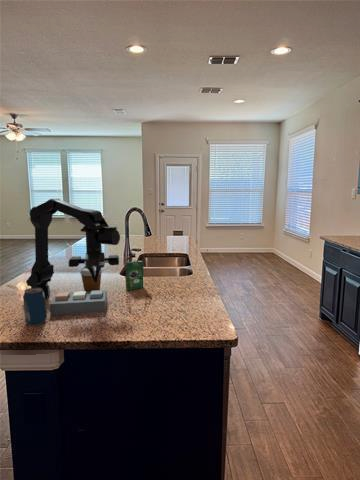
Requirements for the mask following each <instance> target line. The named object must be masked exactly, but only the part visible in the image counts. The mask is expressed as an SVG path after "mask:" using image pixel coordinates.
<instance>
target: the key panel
mask: <svg viewBox="0 0 360 480" xmlns="http://www.w3.org/2000/svg"><path fill="white" fill-rule="evenodd" d="M74 292H75V291H74ZM74 292H69V295H70V297H69V299H68V300H57V301H56V300H55V296H56V295H57V293H56V294H55V295H54V297H53V298H52V300H51V301H50V302H49V313H50V316H62V315H61V314H66V315H79V314H80V313H81V314H95V313H106V308H107V303H108V290H103V298H91V299H90V294H91V291H89V292H86V299H74V300H73V294H74ZM81 314H80V315H81Z"/></svg>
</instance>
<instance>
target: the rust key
mask: <svg viewBox="0 0 360 480" xmlns="http://www.w3.org/2000/svg"><path fill="white" fill-rule="evenodd" d="M69 293H70V292H69V291H67V292H62V291H61V292H56V294H57V295H56V294H55V295H56V296H55V295H54V297H55V300H56V301H57V300H68V299H69V297H70V295H69Z"/></svg>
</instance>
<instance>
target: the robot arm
mask: <svg viewBox="0 0 360 480" xmlns="http://www.w3.org/2000/svg"><path fill="white" fill-rule="evenodd" d="M58 212H60V213H62V214H65V215H67V216H70V217H72V218H73V219H74V218H75V219H76V220H78V222H79V223H80V224H82V225H83V227H82V228H81V229H80V232H84V233H85V244H86V245H85V246H86V247H85V249H86V252H85V257H84V258H82V256H81V255H79V256H78V255H77V256H71V257H70V258H69V260H68V267H69V268H74V267H78V266H79V265H81V264H82V265H84V267H85V268H87V269H88V270H89V271H90V273H91V275H92V277H93V280H94V282H97V279H98V275H99V272H100V269H101V270H102V268H103V269H104V268H105V264H108V265H109V266H119V265H120V256H119V255H118V254H110V255H108V257H105V256H106V255H105V252H102V249H103V248H102V247H103V246H102V245H107V246H117V245H119V243H120V241H121V234H120V231H119V230H118V229H117V226H109V224H108V222H107V221H106V219H105V218H104V216H103V213H102V212H101V211H100V210H96V209H89V208H84V207H83V208H82V207H80V206H77V205H74V204H72V203H70V202H66V201H64V200H62V199H60V198H50V199H47V200H46V201H45V202H43V203H41V204H39V205H36V206H33V207H32V208H31V209H30V210H29V219H30V222H31V224H32V226H33V227H34V239H35V240H34V242H35V243H34V244H35V245H34V249H35V251H34V254H35V258H34V259H35V260H34V263H33V264H32V267H31V271H30V276H29V277H28V278H27V280H26V282H25V283H26V286H28V287H30V288H36V287H39V288H42V289H43V291H44V293H45V300H46V299H48V298H49V296H50V295H51V290H50V285H49V282H51V281H52V278H53V275H54V274H55V271H54V266H55V265H54V264H51V263H50V262H51V261H49V227H50V225H51V223H52V221H53V215H54V214H56V213H58ZM94 266H96V276H95V269H94Z"/></svg>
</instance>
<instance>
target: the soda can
mask: <svg viewBox="0 0 360 480" xmlns="http://www.w3.org/2000/svg"><path fill="white" fill-rule="evenodd" d="M22 297H23V309H24V319H25V320H24V321H25V323H27V324H28V325H29V326H39V325H41V323H42V324H44V323H45V322H46V320H47V315H48V313H47V305H46V299H45V293H44V291H43V289H42V288H39V287H36V288H31V287H30V288H27V289H25V290H24V293H23V295H22ZM43 322H44V323H43ZM38 324H39V325H38Z"/></svg>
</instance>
